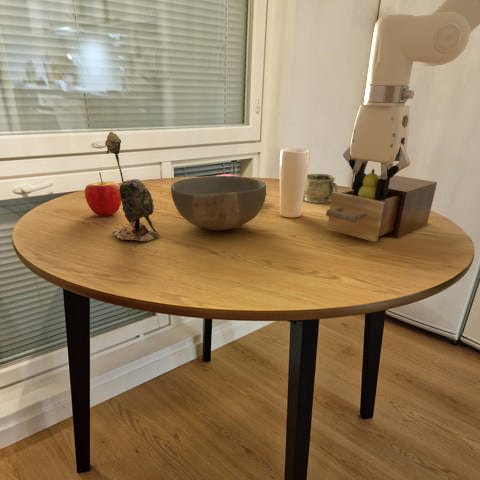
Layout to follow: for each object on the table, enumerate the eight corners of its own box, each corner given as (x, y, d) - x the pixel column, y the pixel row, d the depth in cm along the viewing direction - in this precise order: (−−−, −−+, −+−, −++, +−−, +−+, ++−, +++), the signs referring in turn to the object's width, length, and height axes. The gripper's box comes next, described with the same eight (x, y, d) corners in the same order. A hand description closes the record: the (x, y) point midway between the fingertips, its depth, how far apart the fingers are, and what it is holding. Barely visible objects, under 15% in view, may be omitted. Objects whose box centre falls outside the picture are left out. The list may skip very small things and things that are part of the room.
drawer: (361, 247, 82) (368, 207, 78) (313, 233, 89) (317, 196, 85) (406, 228, 93) (413, 192, 89) (360, 217, 100) (365, 183, 96)
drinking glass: (308, 214, 105) (314, 149, 98) (297, 220, 100) (303, 153, 92) (283, 210, 108) (288, 147, 101) (271, 216, 103) (275, 150, 95)
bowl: (262, 216, 103) (263, 173, 98) (266, 244, 85) (269, 193, 80) (179, 214, 103) (177, 171, 98) (166, 242, 85) (163, 191, 80)
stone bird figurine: (132, 249, 81) (120, 136, 71) (107, 234, 89) (93, 130, 79) (169, 241, 86) (162, 134, 76) (142, 227, 93) (133, 128, 83)
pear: (382, 205, 89) (389, 169, 85) (371, 209, 86) (377, 172, 82) (363, 201, 92) (369, 166, 88) (351, 205, 89) (357, 168, 85)
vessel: (344, 201, 117) (347, 177, 114) (326, 206, 112) (329, 182, 109) (309, 193, 124) (311, 171, 121) (290, 198, 119) (292, 175, 116)
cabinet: (397, 237, 90) (406, 191, 85) (346, 224, 98) (352, 181, 93) (427, 224, 99) (437, 182, 94) (378, 213, 107) (385, 173, 102)
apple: (86, 220, 97) (78, 174, 93) (90, 210, 105) (83, 168, 100) (123, 218, 99) (117, 174, 94) (124, 209, 106) (119, 167, 101)
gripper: (438, 98, 76) (416, 200, 85) (356, 95, 86) (344, 187, 95) (419, 98, 71) (398, 207, 80) (335, 95, 82) (324, 191, 91)
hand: (369, 195), depth 88 cm, fingers closed on pear, 4 cm apart
